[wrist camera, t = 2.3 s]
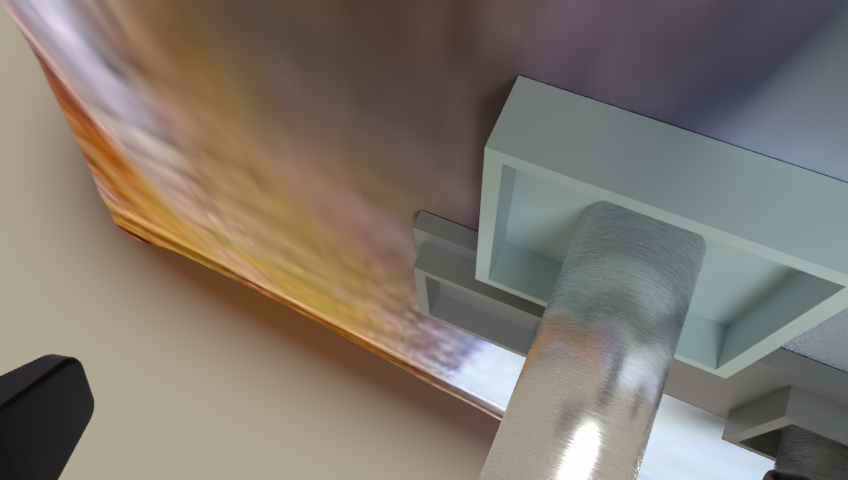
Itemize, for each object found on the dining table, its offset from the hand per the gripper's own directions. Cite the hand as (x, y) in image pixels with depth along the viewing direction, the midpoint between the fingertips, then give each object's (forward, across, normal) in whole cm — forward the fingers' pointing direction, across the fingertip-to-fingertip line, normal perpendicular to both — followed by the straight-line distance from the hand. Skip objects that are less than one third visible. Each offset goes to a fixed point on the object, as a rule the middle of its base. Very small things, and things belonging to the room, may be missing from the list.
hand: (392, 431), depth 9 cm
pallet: (+23, -8, +16) cm, 29 cm away
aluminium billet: (+16, -5, +6) cm, 18 cm away
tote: (+17, -5, +6) cm, 19 cm away
